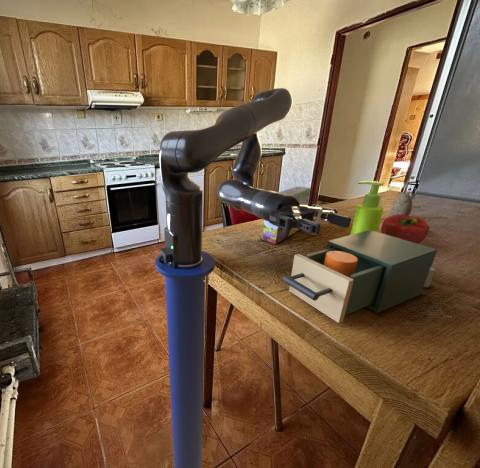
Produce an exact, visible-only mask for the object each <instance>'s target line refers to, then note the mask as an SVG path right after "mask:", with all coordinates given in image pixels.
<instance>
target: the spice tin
mask: <svg viewBox="0 0 480 468" xmlns="http://www.w3.org/2000/svg"><path fill="white" fill-rule="evenodd" d="M357 261H358V259H357V257H355V256H354V255H352V254H349V253H346V252H342V251H329V252H327V253H326V257H325V262H324V266H326V267H328V268H330V269H332V270H334V271H336V272H339V273H341V274H343V275H345V276H347V277H349V278H350V275H352V274H354V273H355V269H356V265H357Z"/></svg>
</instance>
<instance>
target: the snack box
mask: <svg viewBox="0 0 480 468" xmlns="http://www.w3.org/2000/svg"><path fill="white" fill-rule="evenodd" d="M311 190H312V188H311V187H305V186H297V185H295V186H293V187H290V188H287V189H285V190H282V191H278V192H279V193H283V194H287V195H291V196H294V197H295V198H296V199H297V200H298V202H299V204H300V205H307V206H309V199H310V194H311ZM299 231H300V230H295V229H293V228H291V230H289V231H287V230H285V229H282V228H280V227H278V226H275V225H273V224H271V223H269V221H266V220H264V221H263V229H262V236H261V240H262V241H265V242H268V243H271V244H275V245H276V244H279V243H280V242H281V241H283V240H285V239H287V238H288V237H290V236H292V235H294V234H295V233H298V232H299Z"/></svg>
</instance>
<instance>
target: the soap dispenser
mask: <svg viewBox="0 0 480 468" xmlns="http://www.w3.org/2000/svg"><path fill="white" fill-rule="evenodd" d="M357 184H358V185H371V186H370V190H369V192H367V193H365V195H364V198H363V202H362V203H361V204H357V205H356V208H355V214H354V217H353V221H352V225H351V229H350V232H349V233H350V234H349V235H353V234H357V233H361V232H365V231H368V230H372V231H375V232H378V229H379V226H380V223H381V219H382V216H383V212H384V207H382V206H379V204H380V200H381V197H382V195H381V194H380V193H379V189H380V187H382V186H384V184H385V183H384V182H382V181H376V180H362V181H357Z"/></svg>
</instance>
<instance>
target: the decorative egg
mask: <svg viewBox="0 0 480 468" xmlns="http://www.w3.org/2000/svg"><path fill="white" fill-rule="evenodd" d="M412 209H413V200H412V197H411V195H410V194H409V193H407V192H403V193H401V194H399V195H398V196H397V197H396V198H395V200H394V201H393V202H392V204H391V207H390V211H389V212H390V215H391V217H392V216H394V215H398V214H402V215H407V216H410V214H411V212H412Z"/></svg>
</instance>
